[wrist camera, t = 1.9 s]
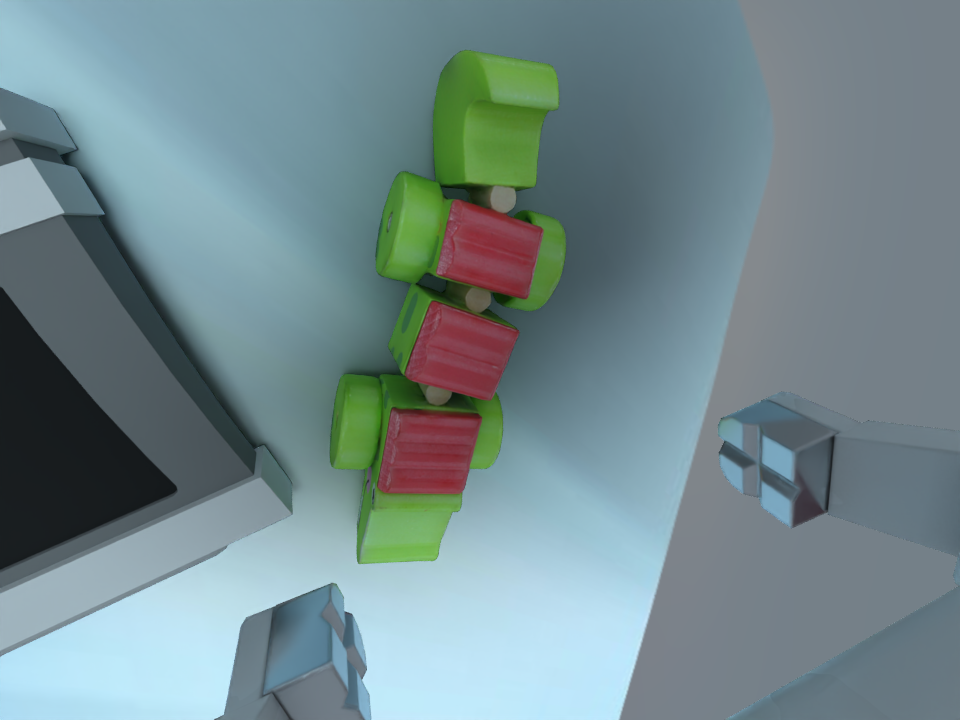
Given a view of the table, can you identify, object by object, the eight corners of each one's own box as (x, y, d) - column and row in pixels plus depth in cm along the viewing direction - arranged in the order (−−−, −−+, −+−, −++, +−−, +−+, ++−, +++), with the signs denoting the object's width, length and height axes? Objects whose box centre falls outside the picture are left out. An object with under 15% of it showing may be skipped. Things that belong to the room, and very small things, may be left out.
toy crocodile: (441, 524, 24) (475, 622, 19) (305, 516, 22) (300, 627, 16) (568, 121, 19) (665, 95, 14) (412, 52, 17) (454, -12, 11)
